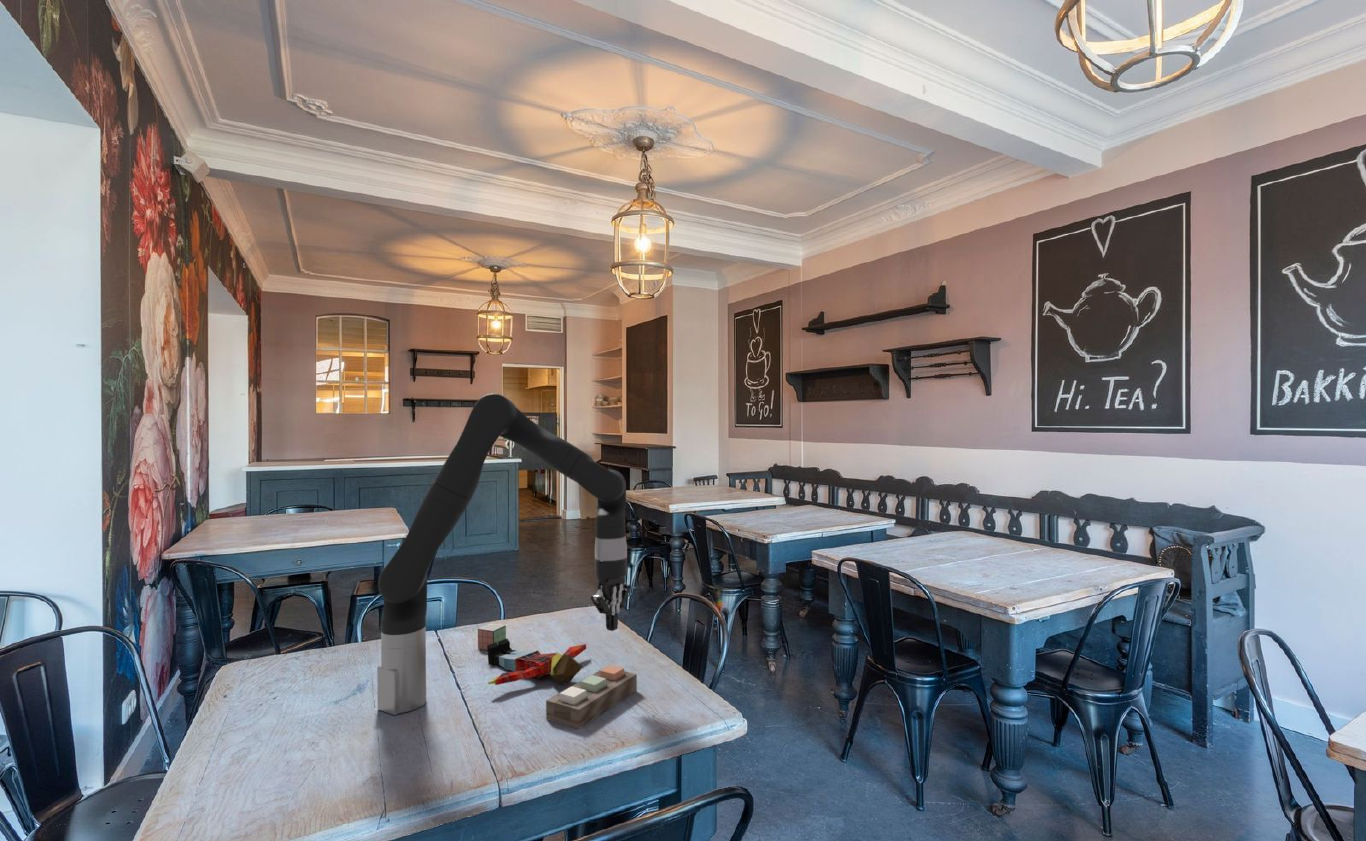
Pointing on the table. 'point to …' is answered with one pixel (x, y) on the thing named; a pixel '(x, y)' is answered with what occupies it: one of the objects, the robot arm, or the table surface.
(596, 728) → the table surface
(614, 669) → the terracotta button
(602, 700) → the button board
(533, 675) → the toy
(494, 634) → the puzzle toy
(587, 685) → the sage button
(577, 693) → the cream button
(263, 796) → the table surface
